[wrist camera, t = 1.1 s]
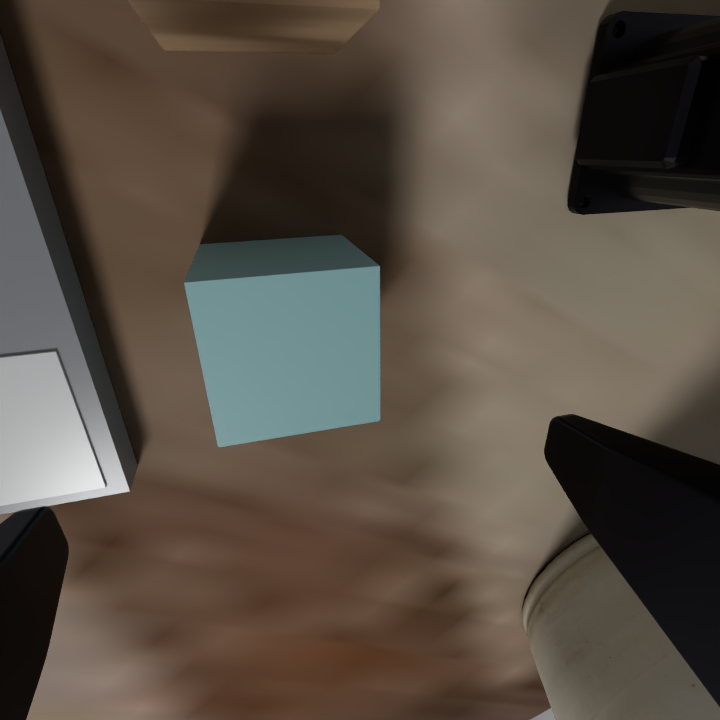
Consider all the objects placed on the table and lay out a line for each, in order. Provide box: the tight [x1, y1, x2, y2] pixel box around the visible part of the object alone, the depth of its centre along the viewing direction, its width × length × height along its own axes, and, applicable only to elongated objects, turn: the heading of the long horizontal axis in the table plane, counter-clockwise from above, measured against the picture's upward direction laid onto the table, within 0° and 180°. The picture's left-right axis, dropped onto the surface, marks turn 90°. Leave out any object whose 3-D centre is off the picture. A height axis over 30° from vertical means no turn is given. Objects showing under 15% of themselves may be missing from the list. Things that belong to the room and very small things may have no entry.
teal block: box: [184, 235, 380, 447], centre depth 14 cm, size 5×5×5 cm
